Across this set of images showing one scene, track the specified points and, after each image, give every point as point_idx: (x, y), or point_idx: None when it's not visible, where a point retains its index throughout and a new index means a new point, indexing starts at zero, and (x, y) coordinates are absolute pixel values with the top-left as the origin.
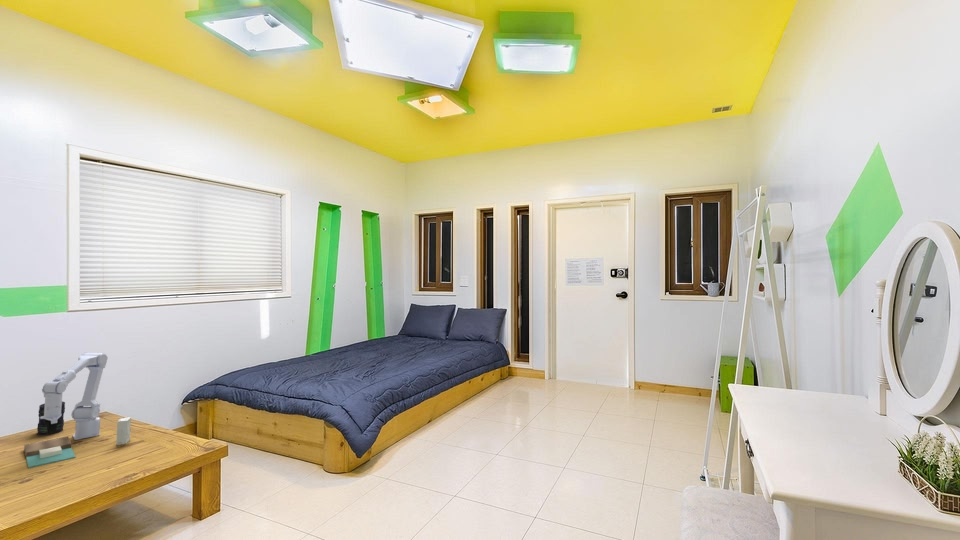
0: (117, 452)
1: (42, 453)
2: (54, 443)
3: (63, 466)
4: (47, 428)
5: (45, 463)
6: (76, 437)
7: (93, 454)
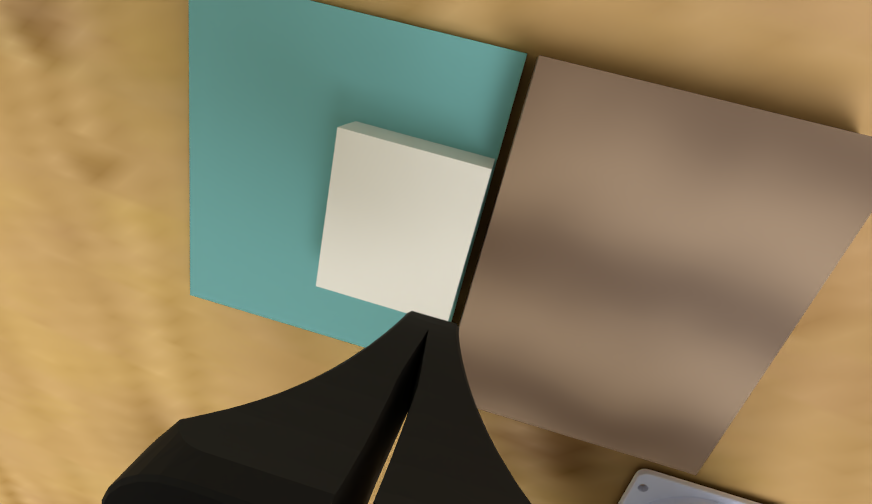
0: (122, 445)
1: (344, 148)
2: (588, 333)
3: (62, 169)
4: (330, 373)
5: (191, 105)
6: (677, 497)
7: (183, 372)
